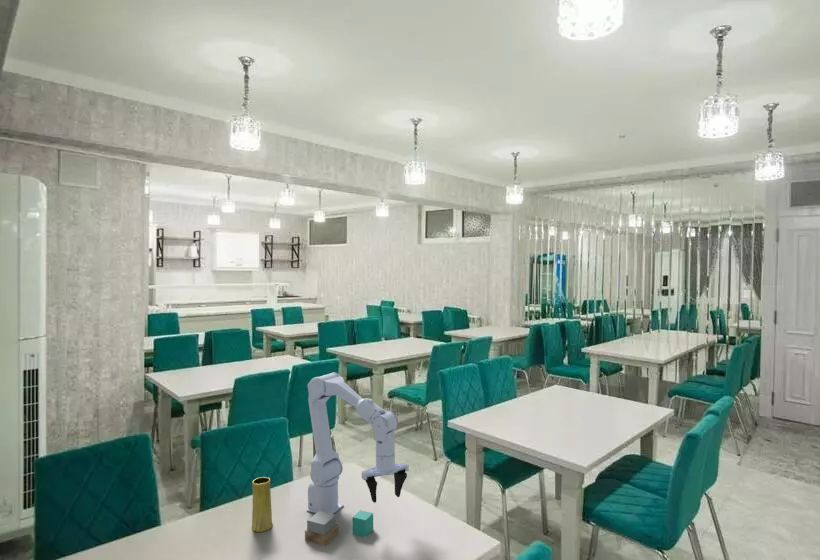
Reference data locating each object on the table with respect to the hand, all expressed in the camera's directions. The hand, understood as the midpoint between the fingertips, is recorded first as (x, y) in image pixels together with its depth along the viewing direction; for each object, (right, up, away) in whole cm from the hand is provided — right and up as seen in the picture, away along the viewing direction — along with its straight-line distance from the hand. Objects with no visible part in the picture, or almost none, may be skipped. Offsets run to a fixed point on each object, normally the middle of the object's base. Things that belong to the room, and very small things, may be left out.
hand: (385, 498), depth 140 cm
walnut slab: (-19, -10, -4) cm, 21 cm away
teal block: (-7, -9, -1) cm, 12 cm away
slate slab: (-19, -7, -4) cm, 20 cm away
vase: (-38, -10, +2) cm, 39 cm away
